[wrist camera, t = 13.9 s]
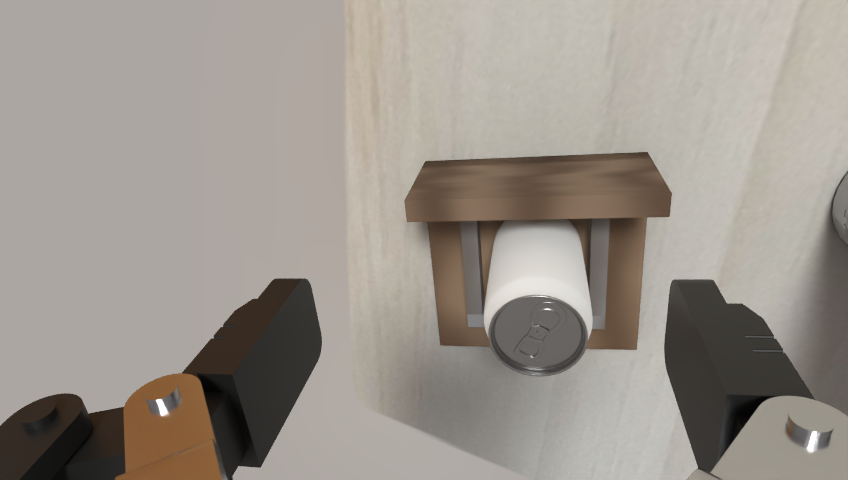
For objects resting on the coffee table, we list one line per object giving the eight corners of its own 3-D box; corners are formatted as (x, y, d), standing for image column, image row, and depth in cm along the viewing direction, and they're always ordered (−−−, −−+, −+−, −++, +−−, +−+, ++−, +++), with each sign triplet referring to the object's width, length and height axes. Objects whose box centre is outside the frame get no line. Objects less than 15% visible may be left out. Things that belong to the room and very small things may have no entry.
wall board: (647, 152, 40) (671, 193, 33) (633, 338, 47) (651, 405, 40) (425, 161, 43) (404, 200, 36) (443, 334, 50) (428, 396, 43)
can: (596, 225, 42) (617, 316, 31) (556, 293, 45) (563, 397, 34) (514, 192, 42) (508, 271, 31) (480, 262, 45) (464, 356, 34)
